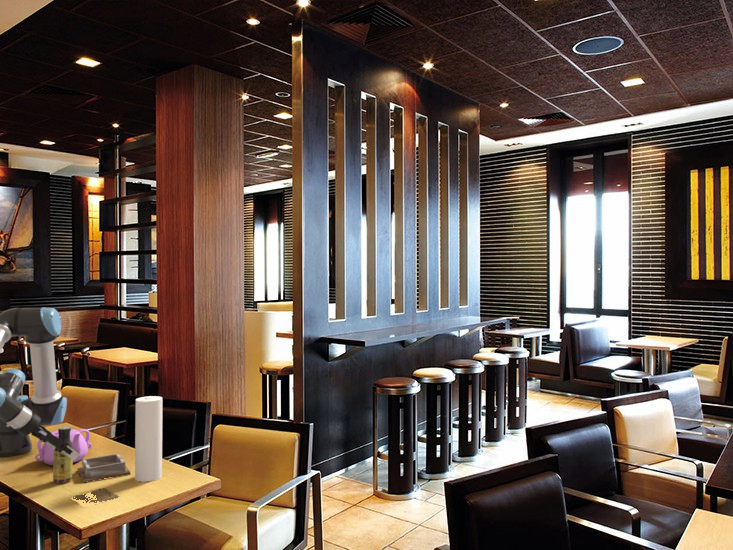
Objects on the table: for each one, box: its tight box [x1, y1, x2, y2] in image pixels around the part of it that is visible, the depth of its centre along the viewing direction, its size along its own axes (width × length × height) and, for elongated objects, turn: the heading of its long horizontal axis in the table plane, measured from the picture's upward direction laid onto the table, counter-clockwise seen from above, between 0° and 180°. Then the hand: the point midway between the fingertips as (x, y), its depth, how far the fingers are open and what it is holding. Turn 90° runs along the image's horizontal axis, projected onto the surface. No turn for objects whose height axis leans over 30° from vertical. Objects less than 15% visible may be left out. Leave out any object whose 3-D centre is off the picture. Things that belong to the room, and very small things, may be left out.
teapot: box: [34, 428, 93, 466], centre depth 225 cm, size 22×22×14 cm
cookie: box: [72, 487, 120, 503], centre depth 188 cm, size 12×12×1 cm
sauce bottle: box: [52, 425, 74, 485], centre depth 203 cm, size 6×6×20 cm
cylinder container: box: [134, 395, 163, 483], centre depth 208 cm, size 9×9×30 cm
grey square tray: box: [76, 453, 131, 483], centre depth 213 cm, size 16×16×4 cm
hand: (69, 453), depth 205 cm, fingers open, 13 cm apart
